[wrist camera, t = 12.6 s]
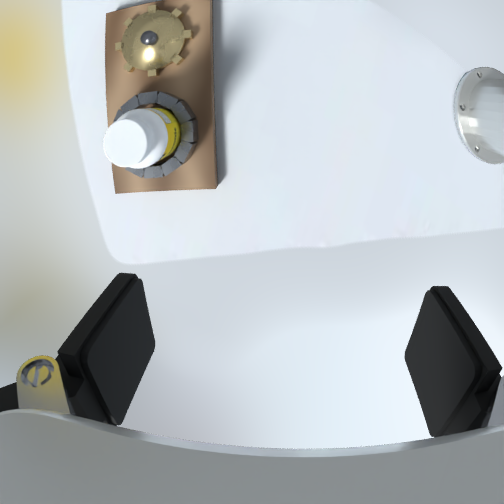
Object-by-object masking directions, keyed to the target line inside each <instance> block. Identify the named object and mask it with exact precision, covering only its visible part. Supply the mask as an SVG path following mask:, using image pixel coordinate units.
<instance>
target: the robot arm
mask: <svg viewBox="0 0 504 504" xmlns="http://www.w3.org/2000/svg"><path fill="white" fill-rule="evenodd" d="M454 116H455V122H456V127H457V130H458V132H459V135H460V137H461V139H462V141H463V143H464V145H465V146H466V148H467V149H468V150H469V151H470V152H471V153H472V154H473V155H474V156H475V157H476V158H478V159H480V160H481V161H484V162H487V163H491V164H501V163H504V74H503V73H501V72H500V71H498V70H496V69H493V68H489V67H480V68H475V69H473V70H471V71H469V72H468V73H466V74H465V75H464V76H463V78H462V79H461V81H460V82H459V85H458V87H457V89H456V94H455V98H454ZM154 349H155V339H154V335H153V330H152V326H151V321H150V316H149V312H148V307H147V302H146V298H145V292H144V287H143V282H142V280H141V279H138V277H137V275H136V274H129V273H119V274H118V275H117V276H116V277H115V278H114V279H113V280H112V282H111V283H110V284H109V285H108V287H107V288H106V289H105V290H104V291H103V293H102V294H101V295H100V297H99V298H98V299H97V300H96V302H95V303H94V304H93V305H92V307H91V308H90V309H89V310H88V312H87V313H86V314H85V315H84V317H83V318H82V319H81V321H80V322H79V323H78V325H77V326H76V327H75V328H74V330H73V331H72V332H71V334H70V335H69V336H68V338H67V339H66V341H65V342H64V343H63V345H62V346H61V347H60V349H59V350H58V354H59V355H58V356H57V358H56V359H54V358H52V357H49V356H43V355H41V356H35V357H33V358H31V359H29V360H27V361H26V362H25V363H23V365H22V366H21V367H20V368H19V370H18V373H17V377H16V381H17V382H16V383H13V384H10V385H7V386H5V387H2V388H0V504H504V376H503V377H501V376H500V374H499V373H500V371H501V370H502V366H501V365H500V363H499V361H498V360H497V358H496V356H495V355H494V353H493V351H492V350H491V348H490V347H489V345H488V343H487V342H486V340H485V339H484V337H483V335H482V334H481V332H480V331H479V329H478V328H477V326H476V325H475V323H474V322H473V320H472V319H471V318H470V316H469V314H468V313H467V312H466V310H465V309H464V307H463V306H462V304H461V303H460V302H459V300H458V299H457V297H456V296H455V295H454V293H453V292H452V291H451V289H450V288H449V287H448V286H433V287H431V289H430V290H428V291H427V292H426V294H425V296H424V300H423V303H422V306H421V309H420V312H419V315H418V318H417V321H416V323H415V326H414V329H413V332H412V335H411V337H410V340H409V343H408V345H407V348H406V351H405V361H406V364H407V367H408V370H409V372H410V375H411V378H412V381H413V384H414V386H415V390H416V392H417V395H418V398H419V401H420V404H421V407H422V411H423V414H424V417H425V420H426V423H427V427H428V430H429V433H430V435H431V436H432V437H434V438H429V439H424V440H417V441H411V442H403V443H395V444H387V445H377V446H366V447H353V448H352V447H351V448H332V449H277V448H257V447H243V446H232V445H221V444H211V443H204V442H197V441H190V440H184V439H177V438H171V437H165V436H160V435H155V434H150V433H145V432H141V431H136V430H130V429H127V428H122V427H117V425H121V424H122V422H123V420H124V417H125V415H126V413H127V410H128V408H129V406H130V403H131V401H132V399H133V397H134V394H135V392H136V390H137V387H138V385H139V383H140V381H141V378H142V376H143V374H144V371H145V369H146V367H147V365H148V363H149V360H150V358H151V356H152V354H153V352H154Z"/></svg>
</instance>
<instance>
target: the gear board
mask: <svg viewBox="0 0 504 504" xmlns="http://www.w3.org/2000/svg"><path fill="white" fill-rule="evenodd" d="M151 5H157V6H158V7H159V10H163V11H167V12H170V13H172V12H173V11H174V10H175V9H176V8H177V9H178V10H179V11H181V12H182V13H183V14H184V16H183V17H182V18H181V19H180V21H181V22H182V23H183V25H184V27H185V30H192V31H193V39H191V40H186V44H185V47H184V49H183V51H182V53H181V54H180V56H181V57H183V58H184V61H183V62H182V63H181V64H180V65H177V64H175V63H174V62H173V63H172V64H170V65H169V66H167V67H165V68H163V69H160V70H159V76H157V77H148V71H145V70H140V69H137V68H136V69H135V70H134V71H133V72H128V71H127V70H126V69H124V68H123V67H124V66H125V64H126V63H127V61H126V60H125V58H124V56H123V54H122V51H120V52H119V51H115V43H118V42H121V41H122V37H123V34H124V32H125V30H126V28H127V26H126V25H124V24H123V23H124V22H125V21H126V20H127V19H128V18H131V19H132V20H134V19H135V18H137V17H138V16H140V15H141V14H143V13H146V12H148V6H151ZM105 74H106V101H107V117H108V128H109V127H110V125H111V124H112V123H113V121H114V118H115V116H116V114H117V111H118V109H121V108H120V107H121V106H122V105H123V104H125V103H126V102H127V101H128V100H129V99H131V98H132V97H133V96H135V95H138V94H140V93H146V92H153V91H162V92H168V93H170V94H173V95H175V96H177V97H179V98H181V99H184V101H186V102H187V103H188V105H189V106H190V108H191V109H192V111H193V112H194V114H195V115H196V117H197V118H195V119H194V120H198V136H199V140H196V141H197V142H198V143H197V145H196V147H195V149H194V151H193V153H192V155H191V157H190V159H189V160H188V161H187V162H186V163H184V164H183V165H181V166H180V167H178V168H177V169H176V170H174V171H173V172H171V173H170V174H168V175H167V176H164V177H159V178H144V177H143V178H141V177H139V176H137V175H135V174H133V173H131V172H129V171H127V170H125V169H126V167H124V168H123V167H120V166H117V165H115V164H113V163H112V171H113V179H114V186H115V194H117V193H132V192H149V191H169V190H194V189H216V188H217V186H218V180H217V159H216V136H215V109H214V75H213V16H212V0H161V1H156V2H151V3H146V4H142V5H137V6H133V7H129V8H125V9H121V10H117V11H114V12H110V13H106V33H105ZM145 108H166V109H169V108H167V107H164V106H162V105H160V104H150V105H148V106H146V107H145ZM170 110H171V109H170ZM176 151H177V150H176ZM176 151H175V152H174V153H172V154H171V155H169V156H167V157H165V158H163V159H161V160H160V161H158V162H167V161H168V160H169V159H171V158H172V157H174V155H175V153H176Z"/></svg>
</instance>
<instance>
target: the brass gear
mask: <svg viewBox="0 0 504 504" xmlns="http://www.w3.org/2000/svg"><path fill="white" fill-rule="evenodd" d="M183 16H184V14H183V13H182V12H181V11H179V10H178V9H177V8H176V9H175V10H174V11H173V12H172V13H170V12H167V11H163V10H159V7H158V6H157V5H151V6H148V12H146V13H143V14H141V15H140V16H138V17H137V18H135V19H134V20H132V19H131V18H128V19H127V20H126V21H125V22H124V23H123V24H124V25H126V26H127V28H126V30H125V32H124V34H123V37H122V41H121V42H118V43H115V51H119V52H120V51H122V54H123V56H124V58H125V60H126V61H127V63H126V64H125V66H124V67H123V68H124V69H126V70H127V71H128V72H133V71H134V70H135V69H136V68H137V69H140V70H145V71H148V77H157V76H159V70H160V69H163V68H165V67H167V66H169V65H170V64H172V63H173V62H174V63H175V64H177V65H180V64H181V63H182V62H183V61H184V58H183V57H181V56H180V54H181V53H182V51H183V49H184V47H185V44H186V40H191V39H193V31H192V30H185V27H184V25H183V23H182V22H181V21H180V19H181V18H182V17H183Z"/></svg>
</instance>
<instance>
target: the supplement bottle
mask: <svg viewBox="0 0 504 504" xmlns="http://www.w3.org/2000/svg"><path fill="white" fill-rule="evenodd" d="M180 143H181V127H180V122H179V121H178V119H177V118H176V116H175V115H174V113H173V112H172V110H170V109H166V108H144V109H135V110H131V111H128V112H126V113H125V114H123V115H122V116H121V117H120V118H119V119H118V120H117V121H116V122H114V123H113V124H111V125H110V127H109V128H108V129H107V131H106V133H105V136H104V140H103V147H104V151H105V154H106V156H107V158H108V159H109V160H110V161H111V162H112V163H113V164H115V165H117V166H120V167H130V168H145V167H148V166H150V165H153V164H155V163H156V162H158V161H160V160H161V159H163V158H165V157H167V156H169V155H171V154H172V153H174V152H175V151H176V150H177V149H178V147H179V145H180Z"/></svg>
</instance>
